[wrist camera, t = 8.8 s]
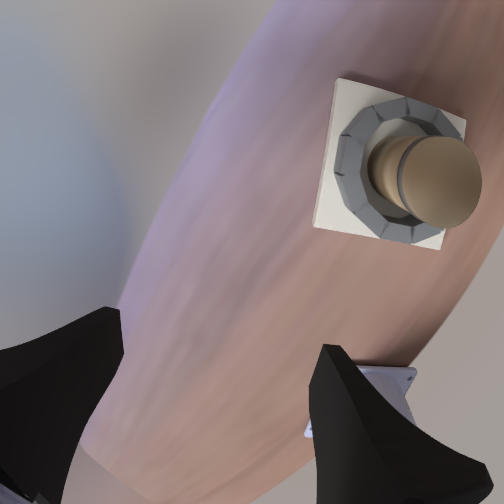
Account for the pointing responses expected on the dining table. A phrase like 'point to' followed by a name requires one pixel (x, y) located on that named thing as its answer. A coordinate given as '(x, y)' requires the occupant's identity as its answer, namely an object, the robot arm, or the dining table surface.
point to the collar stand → (356, 158)
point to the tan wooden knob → (427, 177)
